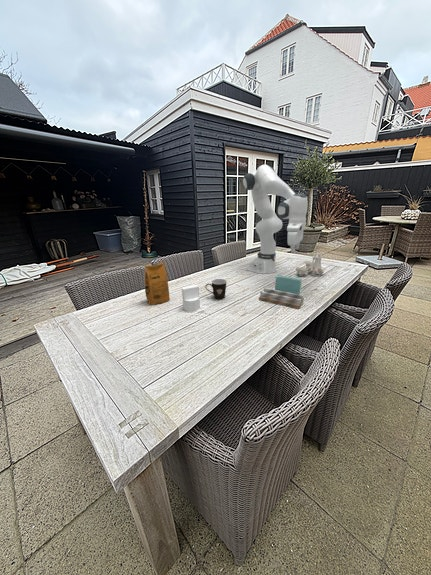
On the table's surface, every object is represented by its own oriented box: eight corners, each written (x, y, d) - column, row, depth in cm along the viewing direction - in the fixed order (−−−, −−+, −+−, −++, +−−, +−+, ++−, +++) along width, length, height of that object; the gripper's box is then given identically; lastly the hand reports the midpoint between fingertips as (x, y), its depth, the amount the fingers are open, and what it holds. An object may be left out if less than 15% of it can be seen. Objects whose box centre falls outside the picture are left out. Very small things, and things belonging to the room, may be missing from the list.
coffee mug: (228, 295, 135) (228, 280, 131) (223, 301, 128) (223, 285, 124) (211, 292, 140) (210, 277, 136) (205, 298, 133) (204, 282, 129)
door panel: (274, 292, 139) (276, 276, 135) (276, 290, 141) (277, 275, 137) (298, 296, 132) (300, 280, 128) (299, 294, 134) (301, 279, 130)
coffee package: (145, 300, 132) (139, 263, 124) (165, 295, 138) (161, 260, 130) (150, 306, 124) (144, 268, 116) (171, 301, 130) (167, 264, 122)
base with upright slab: (186, 313, 117) (185, 291, 112) (181, 306, 124) (179, 285, 120) (202, 308, 121) (201, 288, 116) (196, 302, 128) (194, 282, 123)
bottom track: (258, 300, 129) (259, 292, 127) (265, 293, 136) (265, 286, 135) (298, 309, 118) (299, 301, 116) (303, 301, 125) (304, 294, 124)
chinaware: (304, 268, 183) (305, 248, 178) (327, 270, 174) (328, 248, 168) (293, 279, 163) (293, 256, 157) (318, 281, 153) (319, 257, 147)
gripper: (295, 223, 134) (293, 246, 139) (286, 228, 118) (284, 254, 123) (307, 223, 131) (304, 247, 136) (298, 228, 115) (296, 255, 120)
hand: (294, 250), depth 129 cm, fingers open, 8 cm apart
